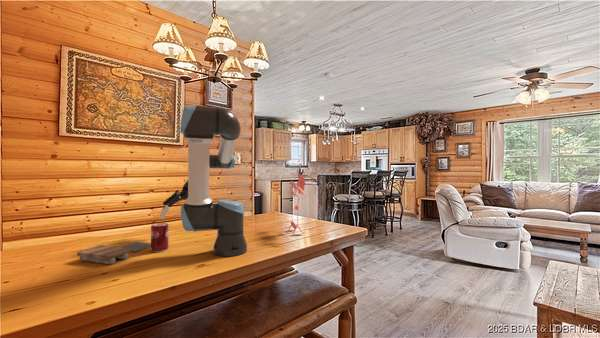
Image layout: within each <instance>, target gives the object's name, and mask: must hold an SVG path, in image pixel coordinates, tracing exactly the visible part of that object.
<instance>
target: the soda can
mask: <svg viewBox="0 0 600 338" xmlns="http://www.w3.org/2000/svg"><path fill="white" fill-rule="evenodd" d="M169 226H170V225H169V224H168V223H167V222H158V223H153V224H151V225H150V243H151V247H150V251H151V252H152V253H163V252H166V251H168V250H169V242H170V241H169V228H170V227H169Z"/></svg>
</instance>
